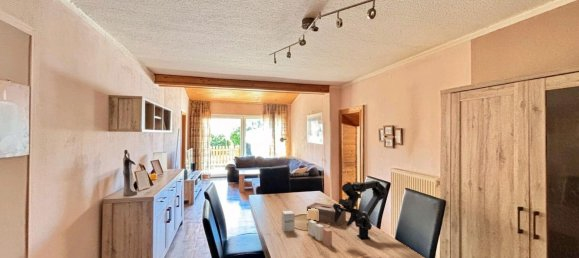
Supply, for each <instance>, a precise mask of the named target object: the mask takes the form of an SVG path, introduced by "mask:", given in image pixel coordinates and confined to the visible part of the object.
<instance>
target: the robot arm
mask: <svg viewBox="0 0 579 258" xmlns="http://www.w3.org/2000/svg"><path fill="white" fill-rule="evenodd" d="M369 189H371V191H372V197H371V199H370V200H369V202H368V203H367V205H366V206H365V208H364V209H363V211H361V210H360V209H358V208H355V207H357V206H358V204H357V202H358V200H359V199H362V195H361V193H364V192H366V190H369ZM341 191H342V192H343V193H344V194H345V195H346V196H347V198H345V199H342V198H339V199H338V203H333V208H334V210H335V222H336V221H337V220H338V218H339V217H340V215H341V214H342V213H341V212H342V211H345V212H346V213H347V214H348V213H349V214H350V216H349V219H348V221H347V223H346V226H347V227H349V226H350V225H351V224H353V223H354V224H355V227H357V228H358V234H356V236H357V238H359V239H360V240H370V239H371V236H369V230H371V229H372V227H373V226H372V223H371V219H370V217H371V215H372V213H373V211H374V210H375V209H376V207H377V205H378V203H379V202H380V201H381V200H383V199H385V198H386V196H388V189H386V187H385V186H384V185H383V184H381V182H380V181H378V180H370V181H365V182H359V181H354V182H350V181H347V183H344V184H343V185H342V187H341Z"/></svg>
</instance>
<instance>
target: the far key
mask: <svg viewBox="0 0 579 258" xmlns="http://www.w3.org/2000/svg"><path fill="white" fill-rule="evenodd" d="M315 224H318V222H317V221H313V220H308V224H307V225H308V228H307V230H308V231H307V233H308V235H310V236H311V237H315Z"/></svg>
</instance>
